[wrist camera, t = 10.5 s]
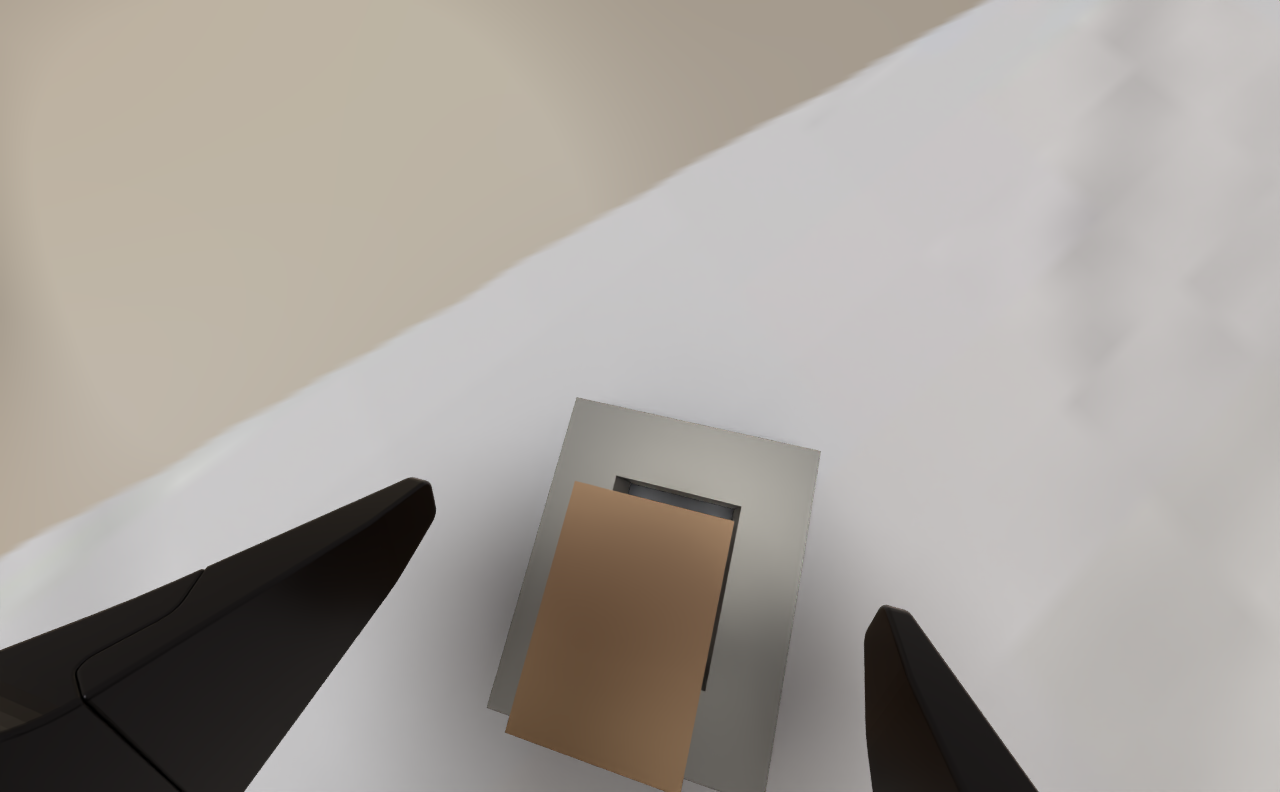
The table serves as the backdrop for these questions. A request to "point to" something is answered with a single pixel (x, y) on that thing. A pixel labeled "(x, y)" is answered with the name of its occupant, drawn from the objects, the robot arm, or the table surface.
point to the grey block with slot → (753, 578)
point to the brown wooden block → (623, 635)
